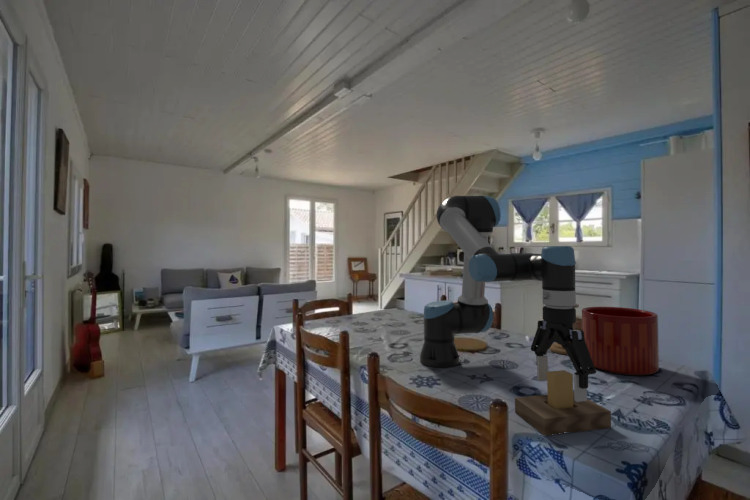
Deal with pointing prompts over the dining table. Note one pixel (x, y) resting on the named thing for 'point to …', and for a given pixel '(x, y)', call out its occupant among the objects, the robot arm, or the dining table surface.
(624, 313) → the planter
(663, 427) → the dining table surface
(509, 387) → the dining table surface
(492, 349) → the dining table surface
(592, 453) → the dining table surface
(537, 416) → the socket block
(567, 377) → the peg
